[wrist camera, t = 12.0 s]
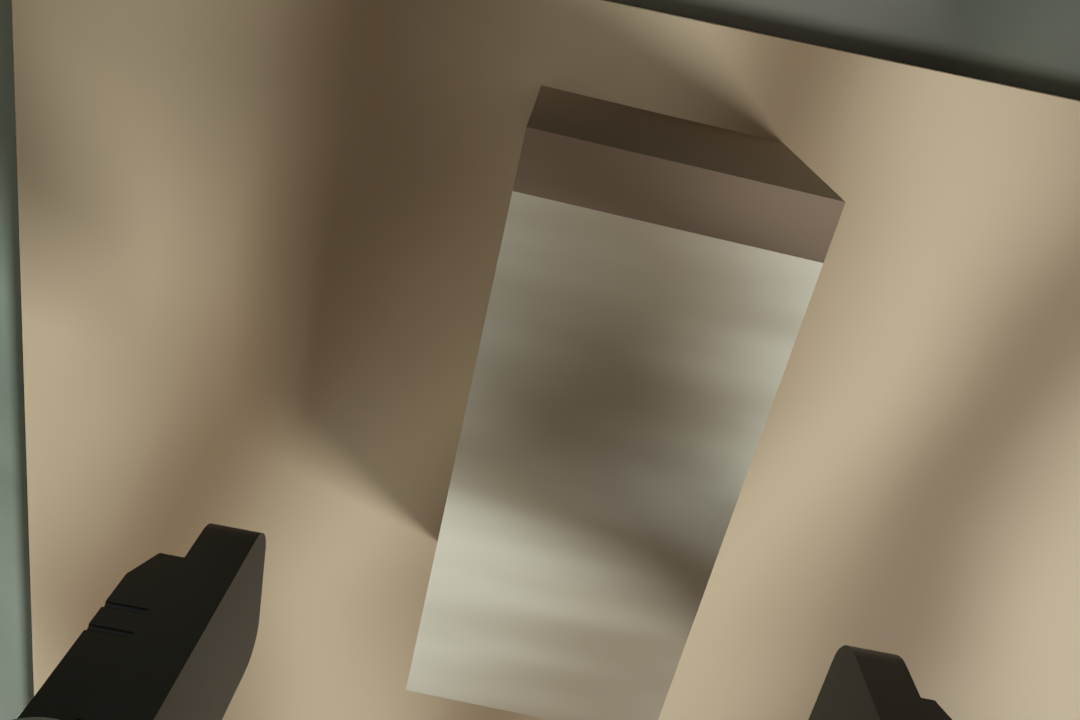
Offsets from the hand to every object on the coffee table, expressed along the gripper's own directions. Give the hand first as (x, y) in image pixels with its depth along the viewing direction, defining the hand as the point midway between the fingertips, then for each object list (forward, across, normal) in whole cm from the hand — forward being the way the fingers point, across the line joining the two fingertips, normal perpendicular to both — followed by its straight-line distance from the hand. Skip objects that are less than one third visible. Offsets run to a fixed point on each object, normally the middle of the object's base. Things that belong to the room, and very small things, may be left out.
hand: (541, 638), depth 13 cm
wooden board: (+6, -1, +2) cm, 6 cm away
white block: (+3, 0, +2) cm, 4 cm away
